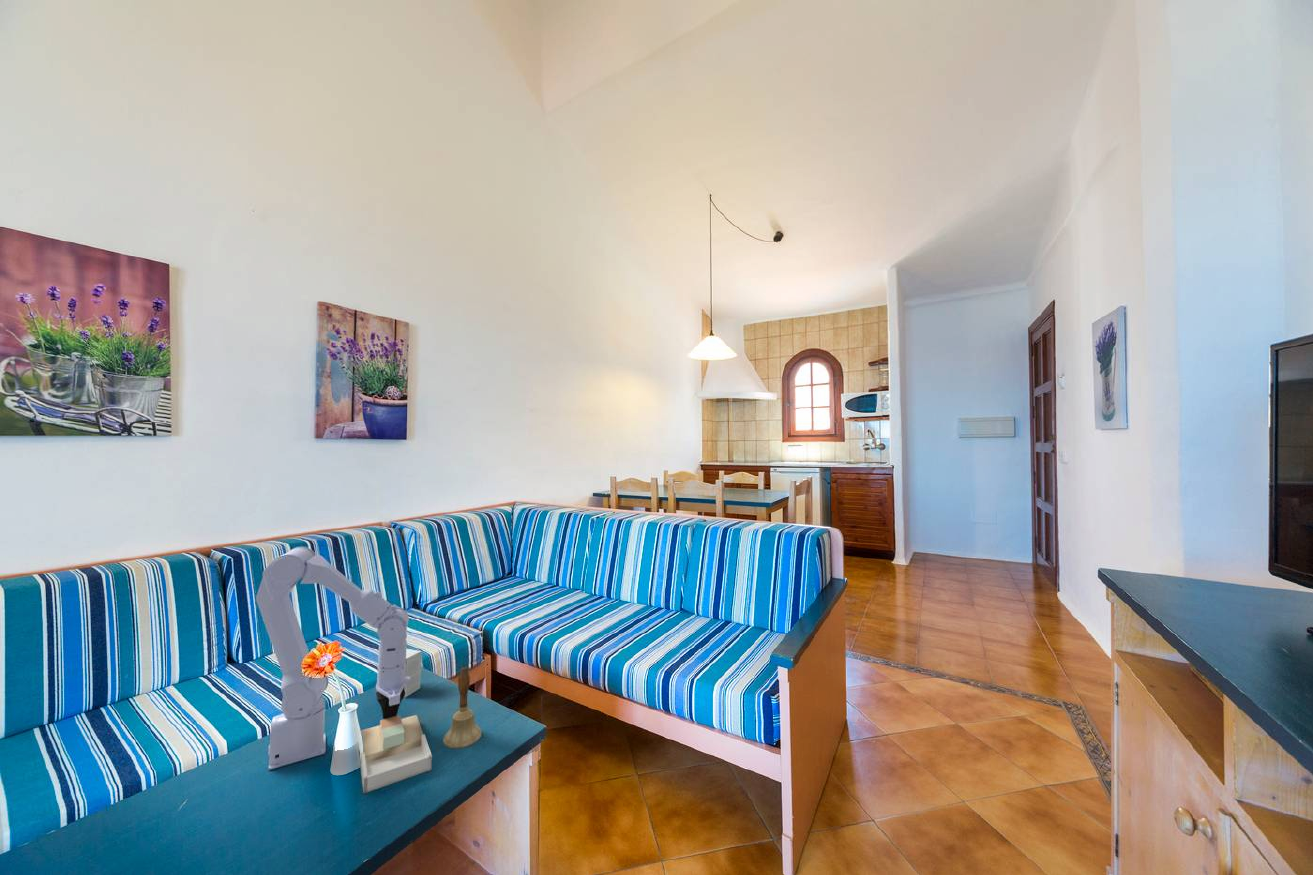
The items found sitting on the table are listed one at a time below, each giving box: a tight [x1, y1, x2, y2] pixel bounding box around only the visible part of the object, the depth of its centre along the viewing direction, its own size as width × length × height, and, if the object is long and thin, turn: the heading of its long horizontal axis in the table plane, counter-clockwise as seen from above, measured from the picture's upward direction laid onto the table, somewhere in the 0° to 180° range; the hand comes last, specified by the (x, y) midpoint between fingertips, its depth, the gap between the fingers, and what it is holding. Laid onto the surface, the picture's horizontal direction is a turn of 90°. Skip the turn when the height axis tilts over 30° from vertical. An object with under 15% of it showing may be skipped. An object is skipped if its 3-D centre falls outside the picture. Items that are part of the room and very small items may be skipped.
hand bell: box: [442, 666, 483, 749], centre depth 106 cm, size 8×8×16 cm
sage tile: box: [381, 723, 404, 750], centre depth 101 cm, size 4×4×2 cm
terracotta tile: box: [379, 714, 402, 736], centre depth 104 cm, size 4×4×2 cm
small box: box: [403, 648, 423, 699], centre depth 126 cm, size 8×6×10 cm
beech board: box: [360, 714, 424, 763], centre depth 103 cm, size 12×11×2 cm
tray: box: [360, 733, 433, 794], centre depth 95 cm, size 12×9×3 cm
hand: (389, 722), depth 106 cm, fingers closed
